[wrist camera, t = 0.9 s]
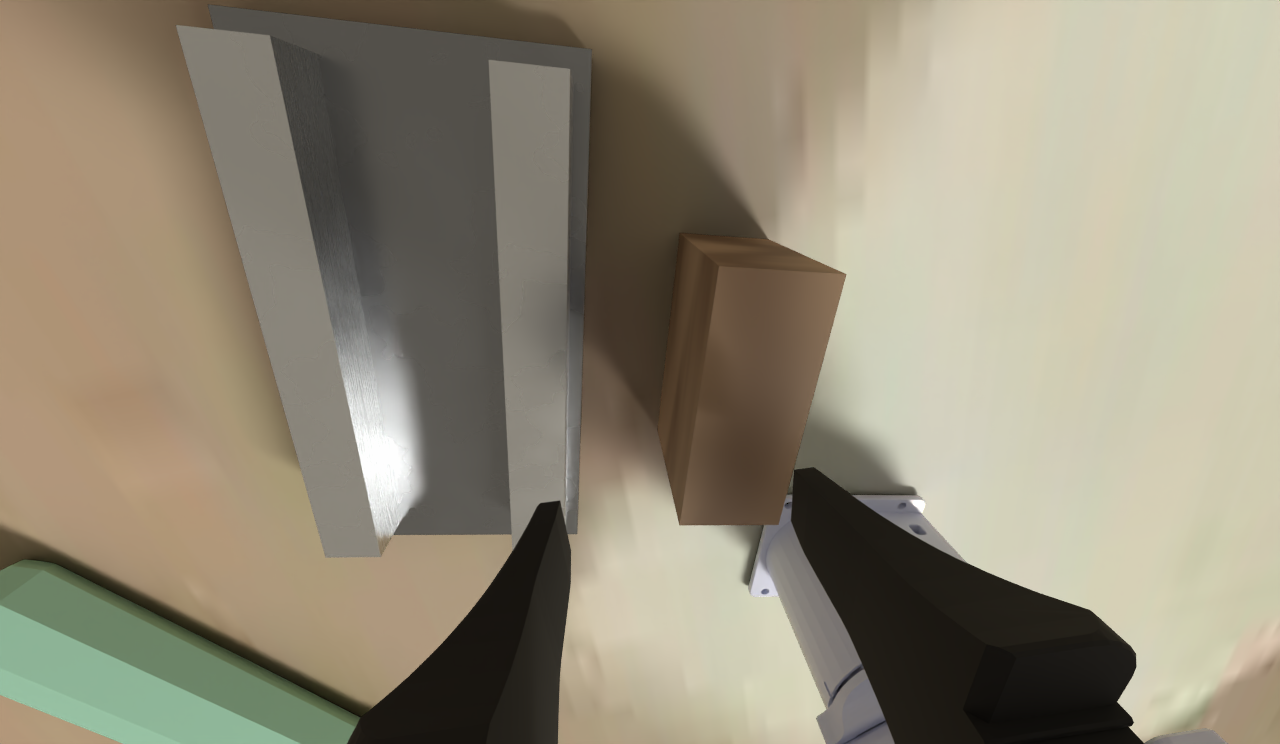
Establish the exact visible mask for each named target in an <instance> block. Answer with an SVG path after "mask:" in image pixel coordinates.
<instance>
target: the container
mask: <svg viewBox="0 0 1280 744" xmlns="http://www.w3.org/2000/svg"><path fill="white" fill-rule="evenodd" d="M0 695H2V696H4V697H7V698H9V699H12V700H14V701H17V702H19V703H22V704H24V705H27V706H30V707H32V708H35V709H37V710H40V711H42V712H45V713H47V714H50V715H52V716H55V717H57V718H60V719H62V720H65V721H67V722H70V723H72V724H75V725H78V726H80V727H83V728H85V729H88V730H90V731H93V732H95V733H98V734H100V735H103V736H105V737H108V738H110V739H113V740H115V741H118V742H120V743H123V744H347V742H348V740H349V738H350V736H351V735H352V733H353V731H354V729H355V727H356V725H357V723H358V721H359V719H360V717H358V716H356V715H354V714H352V713H350V712H348V711H346V710H344V709H343V708H341V707H339V706H337V705H335V704H333V703H331V702H329V701H327V700H325V699H323V698H321V697H319V696H317V695H315V694H313V693H311V692H309V691H307V690H306V689H304V688H302V687H300V686H298V685H296V684H294V683H292V682H290V681H288V680H286V679H284V678H282V677H280V676H278V675H276V674H274V673H272V672H270V671H268V670H266V669H264V668H262V667H260V666H258V665H256V664H254V663H252V662H250V661H248V660H246V659H244V658H242V657H240V656H238V655H236V654H234V653H232V652H231V651H229V650H227V649H225V648H223V647H221V646H219V645H217V644H215V643H213V642H211V641H209V640H207V639H205V638H203V637H201V636H199V635H197V634H195V633H193V632H191V631H189V630H187V629H185V628H183V627H181V626H179V625H177V624H175V623H173V622H171V621H169V620H167V619H165V618H163V617H161V616H159V615H157V614H155V613H153V612H151V611H149V610H147V609H145V608H143V607H141V606H139V605H137V604H135V603H133V602H131V601H129V600H127V599H125V598H123V597H121V596H119V595H117V594H115V593H113V592H111V591H109V590H107V589H105V588H103V587H101V586H99V585H97V584H95V583H93V582H91V581H89V580H87V579H85V578H83V577H81V576H79V575H77V574H75V573H73V572H71V571H69V570H67V569H65V568H63V567H61V566H59V565H57V564H55V563H49V562H44V561H37V560H25V559H24V560H21V561H19V562H17V563H15V564H13V565H11V566H8V567H6V568H4V569H2V570H0Z"/></svg>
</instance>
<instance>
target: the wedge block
mask: <svg viewBox="0 0 1280 744" xmlns="http://www.w3.org/2000/svg"><path fill="white" fill-rule="evenodd" d="M845 278H846V274H844V273H842V272H840V271H838V270H835V269H833V268H831V267H829V266H827V265H824V264H822V263H820V262H818V261H815V260H813V259H811V258H809V257H806V256H804V255H802V254H800V253H798V252H795V251H793V250H791V249H789V248H786V247H784V246H782V245H780V244H778V243H775V242H773V241H771V240H769V239H757V238H744V237H730V236H716V235H702V234H689V233H680V234H679V243H678V252H677V261H676V270H675V278H674V287H673V296H672V305H671V314H670V323H669V331H668V340H667V349H666V358H665V367H664V376H663V384H662V393H661V402H660V411H659V420H658V429H657V430H658V434H659V439H660V443H661V447H662V452H663V456H664V460H665V465H666V469H667V473H668V477H669V482H670V486H671V490H672V495H673V499H674V503H675V508H676V512H677V516H678V521H679V525H779V521H780V517H781V514H782V510H783V506H784V503H785V499H786V495H787V492H788V488H789V484H790V480H791V477H792V473H793V469H794V466H795V462H796V458H797V455H798V451H799V447H800V444H801V440H802V436H803V432H804V429H805V425H806V421H807V418H808V414H809V410H810V407H811V403H812V399H813V396H814V392H815V388H816V385H817V381H818V377H819V373H820V370H821V366H822V362H823V359H824V355H825V351H826V348H827V344H828V340H829V337H830V333H831V329H832V326H833V322H834V318H835V314H836V311H837V307H838V303H839V300H840V296H841V292H842V289H843V285H844V281H845Z"/></svg>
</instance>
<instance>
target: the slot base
mask: <svg viewBox="0 0 1280 744" xmlns="http://www.w3.org/2000/svg"><path fill="white" fill-rule="evenodd" d="M208 8H209V12H210V15H211V19H212V23H213V27H214V29H208V28H199V27H190V26H181V25H176V28H177V32H178V35H179V39H180V42H181V46H182V49H183V53H184V56H185V60H186V64H187V67H188V71H189V74H190V78H191V81H192V85H193V88H194V92H195V96H196V99H197V103H198V106H199V110H200V113H201V117H202V120H203V124H204V127H205V131H206V135H207V138H208V142H209V145H210V149H211V152H212V156H213V159H214V163H215V167H216V170H217V174H218V177H219V181H220V184H221V188H222V191H223V195H224V198H225V202H226V206H227V209H228V213H229V216H230V220H231V223H232V227H233V230H234V234H235V238H236V241H237V245H238V248H239V252H240V255H241V259H242V262H243V266H244V269H245V273H246V277H247V280H248V284H249V287H250V291H251V294H252V298H253V301H254V305H255V308H256V312H257V316H258V319H259V323H260V326H261V330H262V333H263V337H264V340H265V344H266V348H267V351H268V355H269V358H270V362H271V365H272V369H273V372H274V376H275V379H276V383H277V387H278V390H279V394H280V397H281V401H282V404H283V408H284V411H285V415H286V419H287V422H288V426H289V429H290V433H291V436H292V440H293V443H294V447H295V450H296V454H297V458H298V461H299V465H300V468H301V472H302V475H303V479H304V482H305V486H306V490H307V493H308V497H309V500H310V504H311V507H312V511H313V514H314V518H315V521H316V525H317V529H318V532H319V536H320V539H321V543H322V546H323V550H324V553H325V557H381V556H382V554H383V552H384V550H385V548H386V547H387V545H388V543H389V541H390V539H391V537H392V536H393V535H478V534H512V550H513V549H514V548H515V546H516V544H517V543H518V541H519V539H520V538H521V536H522V534H523V532H524V530H525V529H526V527H527V525H528V523H529V521H530V519H531V517H532V515H533V514H534V512H535V510H536V507H537V506H538V505H539V504H540V503H544V502H552V501H559V500H560V502H561V507H562V511H563V516H564V521H565V525H566V530H567V534H577V527H578V500H579V467H580V435H581V402H582V370H583V337H584V304H585V272H586V239H587V207H588V174H589V142H590V109H591V76H592V49H585V48H576V47H568V46H559V45H550V44H542V43H533V42H525V41H516V40H508V39H499V38H491V37H482V36H473V35H465V34H456V33H448V32H439V31H431V30H422V29H414V28H405V27H396V26H388V25H379V24H371V23H362V22H354V21H345V20H337V19H328V18H319V17H311V16H302V15H294V14H285V13H277V12H268V11H260V10H251V9H242V8H234V7H225V6H217V5H208Z"/></svg>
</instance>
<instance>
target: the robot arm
mask: <svg viewBox="0 0 1280 744" xmlns="http://www.w3.org/2000/svg"><path fill="white" fill-rule="evenodd" d="M788 502H790V503H789V504H786V503H788ZM785 504H786V505H785ZM924 506H925V501H924V500H923V499H922V498H921V497H920V496H917V495H851V494H850V493H848V492H847V491H845V490H844V489H843V488H841V487H840V486H839V485H837V484H836V483H835V482H833V481H832V480H830V479H829V478H828V477H826V476H825V475H824V474H822V473H821V472H820V471H818V470H817V469H815V468H814V467H813V468H805V469H797V470H794V480H793V495H786V499H785V503H784V506H783V510H782V514H781V517H780V521H779V525H764V528H763V532H762V535H761V539H760V543H759V547H758V551H757V555H756V559H755V563H754V567H753V571H752V575H751V579H750V583H749V587H748V590H749V592H750V594H751V595H752V596H754V597H769V596H779V598H780V600H781V602H782V605H783V607H784V610H785V612H786V614H787V617H788V619H789V621H790V624H791V626H792V629H793V631H794V633H795V636H796V638H797V640H798V643H799V645H800V648H801V650H802V652H803V655H804V657H805V660H806V662H807V664H808V667H809V669H810V671H811V674H812V676H813V679H814V681H815V683H816V686H817V688H818V690H819V693H820V695H821V698H822V700H823V702H824V705H825V707H826V709H827V710H826V711H824V712H823V713H822V714H820V715H818V716H817V718H816V719H817V722H818V724H819V727H820V729H821V732H822V734H823V737H824V740H825V742H826V744H1228V743H1227V742H1226V741H1224V740H1223V739H1222V738H1221V737H1220V736H1219V735H1218V734H1217V733H1216V732H1215V731H1214V730H1211V729H1207V728H1204V729H1198V730H1191V731H1185V732H1179V733H1172V734H1166V735H1161V736H1158V737H1154V738H1152V739H1150V740H1149V741H1147V742H1146V743H1143V742H1142V741H1141V740H1140V739H1139V738H1138V736H1137V735H1136V734H1135V733H1134V732H1133V731H1132V730H1131V729H1130V728H1129V726H1132V725H1133V723H1134V722H1133V719H1132V717H1131V716H1130V715H1129V714H1128V713H1127V712H1126V711H1125V710H1124V709H1123V708H1122V707H1121V706H1120V705H1119V704H1118V703H1117V701H1118V699H1119V698H1120V696H1121V694H1122V693H1123V691H1124V690H1125V688H1126V686H1127V685H1128V683H1129V681H1130V680H1131V678H1132V676H1133V674H1134V671H1135V669H1136V653H1135V652H1134V650H1133V649H1132V647H1131V646H1130V645H1129V644H1127V643H1126V642H1125V641H1124V640H1123V639H1122V638H1121V637H1120V636H1119V635H1118V634H1116V633H1115V632H1114V631H1113V630H1112V629H1111V628H1110V627H1109V626H1108V625H1106V624H1105V623H1104V622H1103V621H1102V620H1101V619H1100V618H1099V617H1098V616H1096V615H1095V614H1094V613H1093V612H1092V611H1091V610H1088V609H1085V608H1082V607H1079V606H1076V605H1073V604H1070V603H1067V602H1064V601H1061V600H1058V599H1055V598H1052V597H1049V596H1046V595H1043V594H1040V593H1038V592H1035V591H1032V590H1030V589H1027V588H1025V587H1022V586H1019V585H1017V584H1014V583H1012V582H1009V581H1007V580H1004V579H1002V578H999V577H997V576H995V575H992V574H990V573H988V572H985V571H983V570H981V569H979V568H976V567H974V566H972V565H970V564H968V563H967V562H966V561H965V560H964V559H963V558H962V557H961V556H960V555H959V554H958V553H957V552H956V551H955V549H954V548H953V547H952V546H951V545H950V544H949V543H948V542H947V541H946V540H945V539H944V538H943V536H942V535H941V534H940V533H939V532H938V531H937V530H936V529H935V528H934V527H933V526H932V525H931V523H930V522H929V521H928V520H927V519H926V518H925V517H924V516H923V515H922V514H921V513H922V511H923V509H924ZM570 584H571V549H570V544H569V539H568V535H567V530H566V525H565V521H564V516H563V511H562V507H561V502H560V500H559V501H552V502H544V503H540V504H539V505H538V506H537V507H536V510H535V512H534V514H533V515H532V517H531V519H530V521H529V523H528V525H527V527H526V529H525V530H524V532H523V534H522V536H521V538H520V539H519V541H518V543H517V544H516V546H515V548H514V549H513V551H512V553H511V554H510V556H509V558H508V559H507V561H506V562H505V564H504V565H503V567H502V568H501V570H500V571H499V573H498V574H497V576H496V577H495V579H494V580H493V582H492V583H491V585H490V586H489V587H488V589H487V590H486V591H485V593H484V594H483V595H482V597H481V598H480V599H479V601H478V602H477V603H476V605H475V606H474V607H473V608H472V610H471V611H470V612H469V613H468V615H467V616H466V617H465V618H464V619H463V620H462V622H461V623H460V624H459V625H458V626H457V627H456V628H455V630H454V631H453V632H452V633H451V634H450V635H449V636H448V638H447V639H446V640H445V641H444V642H443V643H442V644H441V645H440V646H439V647H438V648H437V649H436V650H435V651H434V652H433V653H432V654H431V655H430V656H429V657H428V658H427V659H426V660H425V661H424V662H423V663H422V664H421V665H420V666H419V667H418V668H417V669H416V670H415V671H414V672H413V673H412V674H411V675H410V676H409V677H408V678H407V679H405V680H404V681H403V682H402V683H401V684H400V685H399V686H398V687H397V688H395V689H394V690H393V691H392V692H391V693H389V694H388V695H387V696H386V697H385V698H384V699H382V700H381V701H380V702H379V703H378V704H377V705H375V706H374V707H373V708H372V709H371V710H370V711H368V712H367V713H366V714H365V715H363V716H362V717H361V718H360V719H359V721H358V723H357V725H356V727H355V729H354V731H353V733H352V735H351V736H350V738H349V740H348V742H347V744H558V713H559V683H560V668H561V657H562V649H563V641H564V633H565V625H566V617H567V609H568V601H569V593H570Z"/></svg>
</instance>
